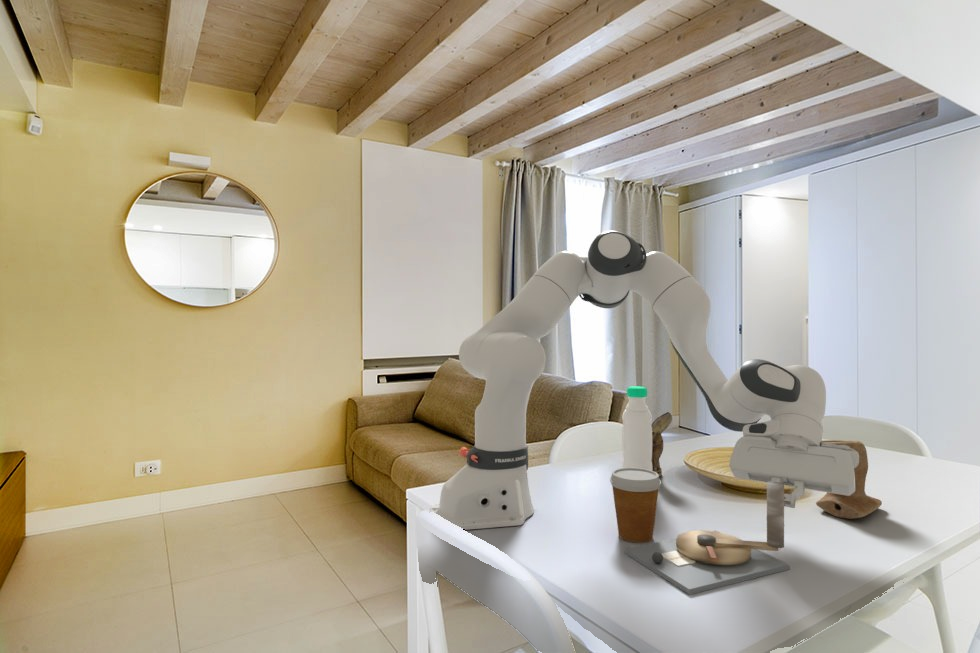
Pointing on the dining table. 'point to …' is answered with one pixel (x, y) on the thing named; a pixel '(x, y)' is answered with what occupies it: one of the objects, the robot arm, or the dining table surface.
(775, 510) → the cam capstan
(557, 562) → the dining table surface
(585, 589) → the dining table surface
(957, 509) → the dining table surface
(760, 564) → the base board
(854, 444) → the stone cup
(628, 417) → the water bottle
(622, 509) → the disposable coffee cup
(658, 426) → the stone sculpture
